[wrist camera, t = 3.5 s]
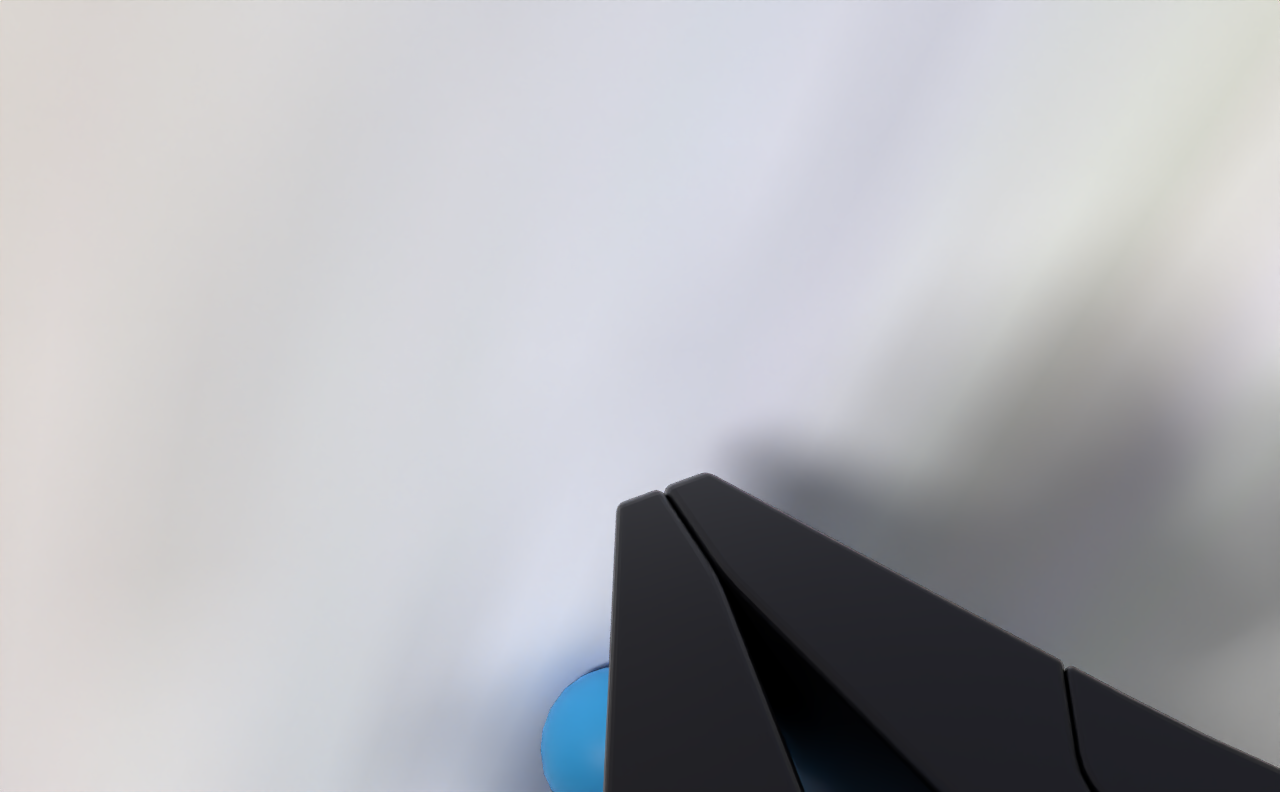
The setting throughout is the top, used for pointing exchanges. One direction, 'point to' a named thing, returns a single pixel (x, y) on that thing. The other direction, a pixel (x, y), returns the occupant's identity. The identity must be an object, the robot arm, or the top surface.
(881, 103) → the top surface
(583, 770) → the molecular structure
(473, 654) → the top surface
